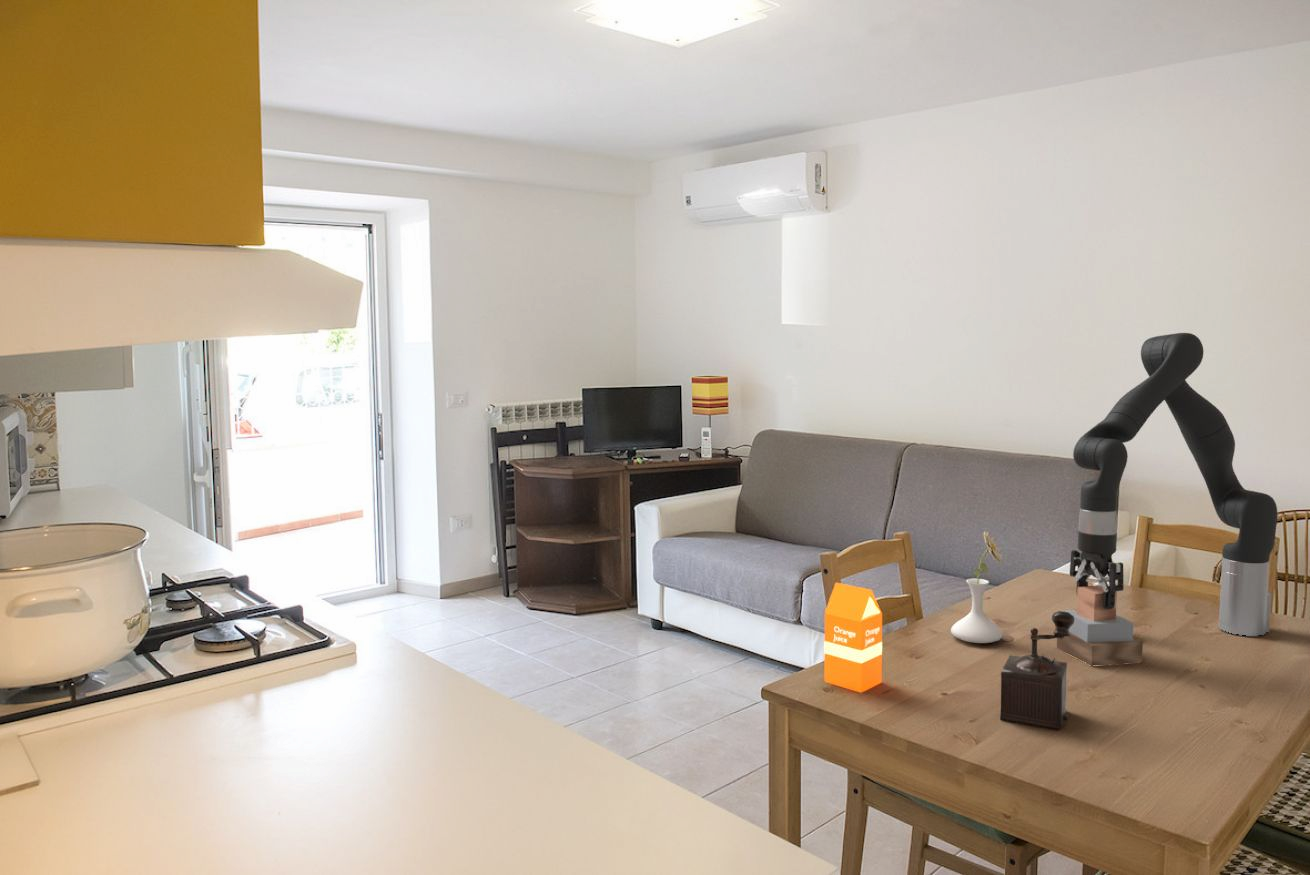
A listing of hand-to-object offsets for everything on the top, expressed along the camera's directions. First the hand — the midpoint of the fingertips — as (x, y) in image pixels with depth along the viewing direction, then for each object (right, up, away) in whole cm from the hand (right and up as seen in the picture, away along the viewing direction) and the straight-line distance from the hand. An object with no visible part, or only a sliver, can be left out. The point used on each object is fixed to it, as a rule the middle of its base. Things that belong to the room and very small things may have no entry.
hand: (1094, 603), depth 199 cm
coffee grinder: (-24, -15, -28) cm, 40 cm away
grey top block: (+1, -7, +1) cm, 7 cm away
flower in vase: (-21, -11, +13) cm, 27 cm away
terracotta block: (0, -3, +1) cm, 3 cm away
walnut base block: (+1, -12, +1) cm, 12 cm away
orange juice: (-55, -14, -12) cm, 58 cm away
